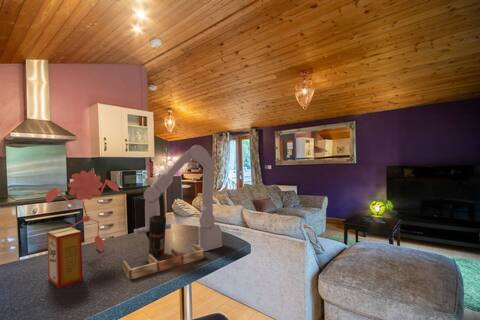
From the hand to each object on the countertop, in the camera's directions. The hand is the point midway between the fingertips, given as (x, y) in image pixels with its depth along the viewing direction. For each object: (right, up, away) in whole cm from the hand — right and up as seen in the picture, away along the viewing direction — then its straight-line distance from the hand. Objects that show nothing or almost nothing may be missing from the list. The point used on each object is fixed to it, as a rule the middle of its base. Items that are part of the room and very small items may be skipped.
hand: (153, 248), depth 103 cm
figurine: (-26, -3, -1) cm, 26 cm away
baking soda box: (-21, -2, -22) cm, 30 cm away
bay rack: (+8, -1, -11) cm, 14 cm away
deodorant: (+2, -1, -3) cm, 4 cm away
